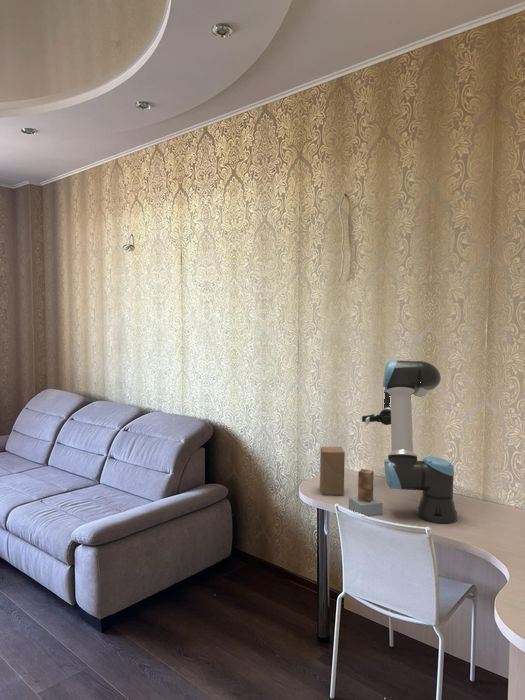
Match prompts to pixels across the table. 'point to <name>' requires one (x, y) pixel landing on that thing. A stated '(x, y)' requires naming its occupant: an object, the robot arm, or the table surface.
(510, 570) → the table surface
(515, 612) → the table surface
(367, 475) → the walnut block
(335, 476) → the wooden block
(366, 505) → the grey base block
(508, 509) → the table surface
